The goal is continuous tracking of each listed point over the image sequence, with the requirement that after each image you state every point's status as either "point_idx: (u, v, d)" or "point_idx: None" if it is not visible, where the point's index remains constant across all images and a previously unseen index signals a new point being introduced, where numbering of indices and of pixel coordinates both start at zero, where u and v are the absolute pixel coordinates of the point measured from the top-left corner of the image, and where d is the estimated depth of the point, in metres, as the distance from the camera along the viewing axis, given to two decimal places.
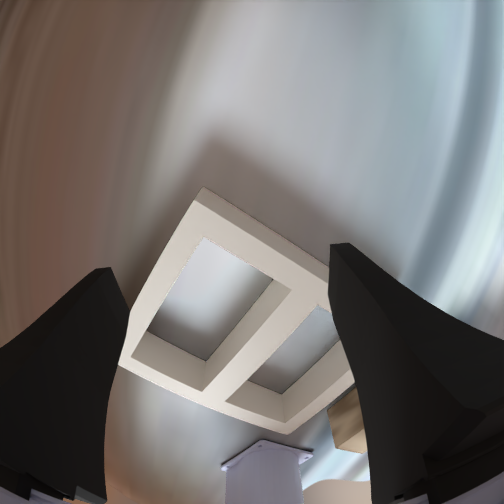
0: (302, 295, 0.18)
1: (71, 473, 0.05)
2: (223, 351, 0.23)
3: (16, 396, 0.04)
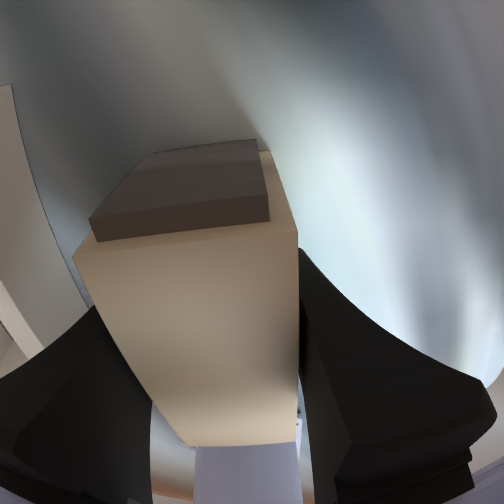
0: None
1: (123, 485, 0.05)
2: None
3: (69, 407, 0.04)
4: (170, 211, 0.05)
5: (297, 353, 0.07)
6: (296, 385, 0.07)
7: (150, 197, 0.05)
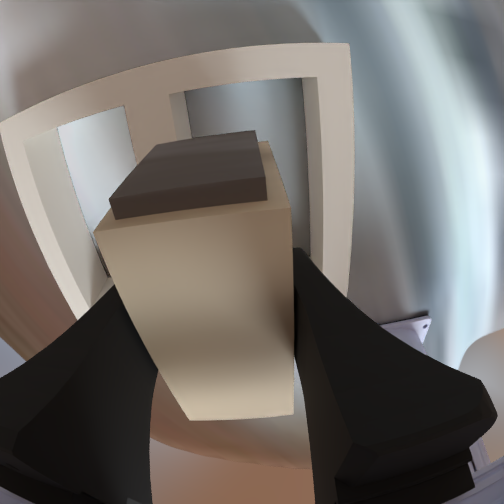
0: (142, 100, 0.11)
1: (122, 485, 0.05)
2: None
3: (69, 407, 0.04)
4: (182, 191, 0.06)
5: (292, 321, 0.07)
6: (292, 353, 0.08)
7: (163, 180, 0.06)
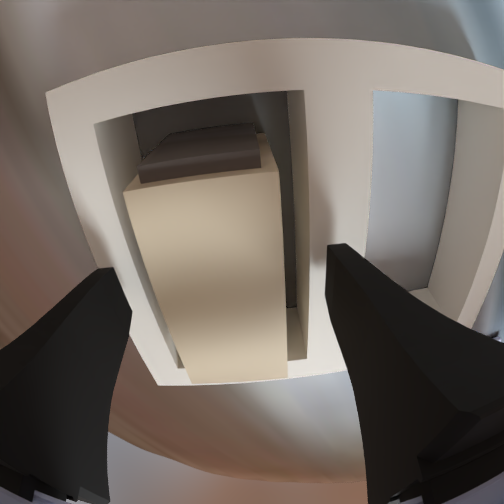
0: (331, 88, 0.07)
1: (74, 474, 0.05)
2: (300, 279, 0.14)
3: (19, 397, 0.04)
4: (195, 160, 0.08)
5: (283, 273, 0.09)
6: (284, 307, 0.10)
7: (180, 154, 0.08)
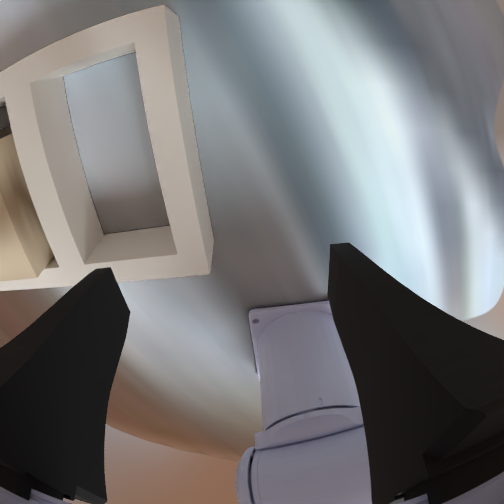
0: (15, 90, 0.11)
1: (71, 473, 0.05)
2: None
3: (16, 396, 0.04)
4: None
5: (2, 196, 0.12)
6: (9, 218, 0.13)
7: None
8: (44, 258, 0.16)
